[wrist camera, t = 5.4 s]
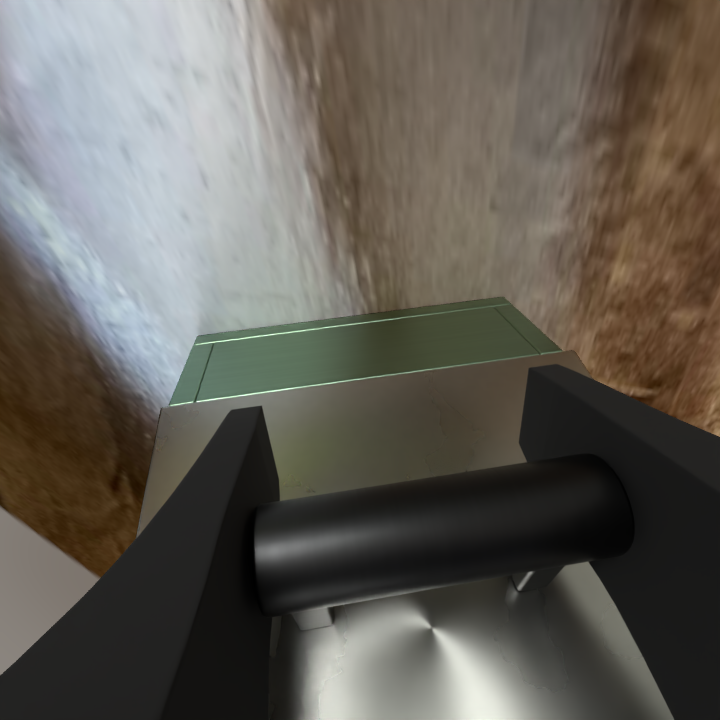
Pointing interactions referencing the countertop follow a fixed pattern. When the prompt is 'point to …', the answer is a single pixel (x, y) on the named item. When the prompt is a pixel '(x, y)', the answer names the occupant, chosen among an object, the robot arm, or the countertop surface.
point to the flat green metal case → (356, 349)
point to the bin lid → (428, 552)
